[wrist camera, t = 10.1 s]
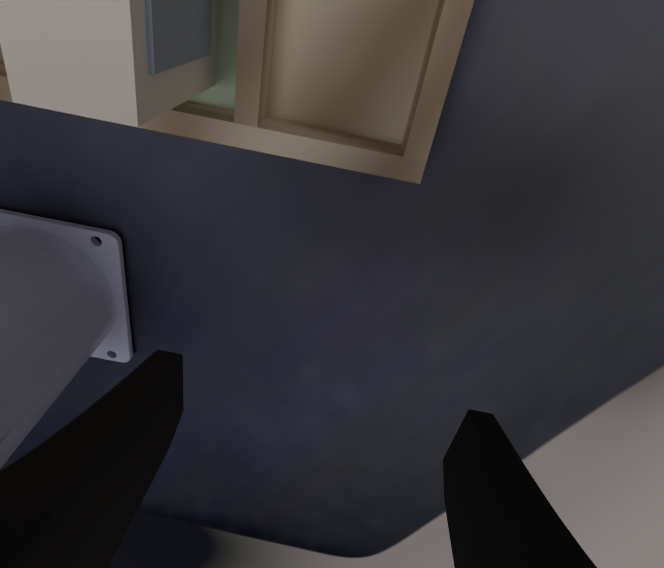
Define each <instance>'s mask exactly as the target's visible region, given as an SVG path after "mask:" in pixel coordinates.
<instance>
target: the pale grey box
mask: <svg viewBox="0 0 664 568" xmlns="http://www.w3.org/2000/svg"><path fill="white" fill-rule="evenodd" d="M217 13H218V0H0V45H1V49H2V54H3V59H4V63H5V68H6V73H7V77H8V82H9V87H10V92H11V96H12V101H13V102H14V103H19V104H24V105H29V106H34V107H39V108H44V109H49V110H54V111H59V112H64V113H69V114H74V115H79V116H84V117H89V118H94V119H99V120H104V121H109V122H114V123H119V124H124V125H129V126H134V127H139V126H141V125H143V124H145V123H147V122H149V121H150V120H152V119H154V118H156V117H158V116H160V115H161V114H163V113H165V112H167V111H169V110H171V109H172V108H174V107H176V106H178V105H180V104H182V103H184V102H185V101H187V100H189V99H191V98H193V97H195V96H196V95H198V94H200V93H202V92H204V91H206V90H207V89H209V88H211V87H213V86H215V85H216V51H217Z"/></svg>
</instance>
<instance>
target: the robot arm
mask: <svg viewBox="0 0 664 568" xmlns="http://www.w3.org/2000/svg"><path fill="white" fill-rule="evenodd" d="M95 236H96V237H99V238H100V239H101V241H102V242H99V241H98V240H97V239H96V238H95ZM112 351H113V352H112ZM114 352H115V353H114ZM90 356H91V357H96V358H102V359H107V360H112V361H117V362H128V361H129V360H130V359H131V358H132V356H133V349H132V339H131V329H130V319H129V309H128V299H127V289H126V279H125V269H124V259H123V250H122V241H121V238H120V237H119V236H118V234H116V233H115V232H113V231H110V230H106V229H100V228H95V227H90V226H85V225H80V224H75V223H70V222H65V221H60V220H55V219H49V218H44V217H39V216H34V215H29V214H24V213H19V212H14V211H9V210H4V209H0V468H1V467H2V466H3V464H4V463H5V462H6V461H7V459H8V458H9V457H10V456H11V454H12V453H13V452H14V451H15V449H16V448H17V447H18V446H19V444H20V443H21V442H22V441H23V439H24V438H25V437H26V436H27V434H28V433H29V432H30V431H31V429H32V428H33V427H34V426H35V424H36V423H37V422H38V421H39V419H40V418H41V417H42V416H43V414H44V413H45V412H46V411H47V410H48V408H49V407H50V406H51V405H52V403H53V402H54V401H55V400H56V398H57V397H58V396H59V395H60V393H61V392H62V391H63V390H64V388H65V387H66V386H67V385H68V383H69V382H70V381H71V380H72V378H73V377H74V376H75V375H76V373H77V372H78V371H79V370H80V368H81V367H82V366H83V365H84V363H85V362H86V361H87V360H88V358H89V357H90ZM182 413H183V359H182V354H177V353H172V352H166V351H161V350H157V351H155V352H154V353H152V354H151V355H150V356H149V357H148V358H147V359H146V360H145V361H143V362H142V363H141V364H140V365H139V366H138V367H137V368H136V369H134V370H133V371H132V372H131V373H130V374H129V375H128V376H126V377H125V378H124V379H123V380H122V381H120V382H119V383H118V384H117V385H116V386H115V387H113V388H112V389H111V390H110V391H109V392H107V393H106V394H105V395H104V396H102V397H101V398H100V399H99V400H97V401H96V402H95V403H94V404H93V405H91V406H90V407H89V408H88V409H86V410H85V411H84V412H83V413H81V414H80V415H79V416H77V417H76V418H75V419H73V420H72V421H71V422H69V423H68V424H67V425H65V426H64V427H63V428H61V429H60V430H59V431H57V432H56V433H55V434H53V435H52V436H50V437H49V438H48V439H46V440H45V441H44V442H42V443H41V444H39V445H38V446H37V447H35V448H34V449H32V450H31V451H29V452H28V453H26V454H25V455H24V456H22V457H21V458H19V459H18V460H16V461H15V462H13V463H11V464H10V465H8V466H7V467H5V468H4V469H2V470H1V471H0V568H109V567H110V564H111V562H112V559H113V557H114V555H115V553H116V551H117V549H118V547H119V545H120V542H121V540H122V538H123V536H124V534H125V532H126V530H127V529H128V527H129V525H130V523H131V521H132V519H133V517H134V515H135V513H136V511H137V509H138V507H139V506H140V504H141V502H142V500H143V498H144V496H145V494H146V492H147V490H148V488H149V486H150V484H151V482H152V481H153V479H154V477H155V475H156V473H157V471H158V469H159V467H160V465H161V463H162V461H163V459H164V457H165V455H166V453H167V451H168V449H169V447H170V444H171V442H172V439H173V437H174V434H175V431H176V429H177V426H178V423H179V421H180V418H181V415H182ZM443 472H444V498H445V507H446V514H447V521H448V527H449V534H450V540H451V547H452V553H453V559H454V566H455V568H597V567H596V566H595V565H594V563H593V562H592V561H591V560H590V558H589V557H588V556H587V554H586V553H585V552H584V550H583V549H582V548H581V546H580V545H579V544H578V542H577V541H576V540H575V538H574V537H573V536H572V534H571V533H570V532H569V530H568V529H567V527H566V526H565V525H564V523H563V522H562V520H561V519H560V518H559V517H558V515H557V513H556V512H555V511H554V509H553V508H552V506H551V505H550V503H549V502H548V500H547V499H546V497H545V496H544V494H543V493H542V491H541V490H540V488H539V487H538V485H537V484H536V482H535V481H534V479H533V477H532V476H531V474H530V473H529V471H528V470H527V468H526V467H525V465H524V463H523V462H522V460H521V459H520V457H519V455H518V454H517V452H516V451H515V449H514V447H513V446H512V444H511V443H510V441H509V439H508V438H507V436H506V434H505V433H504V431H503V430H502V428H501V426H500V425H499V423H498V422H497V420H496V418H495V417H494V415H493V414H490V413H485V412H480V411H475V410H468V412H467V414H466V416H465V417H464V419H463V421H462V423H461V425H460V427H459V429H458V431H457V433H456V435H455V437H454V439H453V441H452V443H451V445H450V447H449V449H448V451H447V453H446V455H445V457H444V459H443Z"/></svg>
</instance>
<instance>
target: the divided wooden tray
mask: <svg viewBox="0 0 664 568" xmlns="http://www.w3.org/2000/svg"><path fill="white" fill-rule="evenodd" d="M473 4H474V0H218V13H217V51H216V85H215V86H213V87H211V88H209V89H207V90H206V91H204V92H202V93H200V94H198V95H196V96H195V97H193V98H191V99H189V100H187V101H185V102H184V103H182V104H180V105H178V106H176V107H174V108H172V109H171V110H169V111H167V112H165V113H163V114H161V115H160V116H158V117H156V118H154V119H152V120H150V121H149V122H147V123H145V124H143V125H141V126H139V127H138V128H143V129H148V130H153V131H158V132H163V133H168V134H173V135H178V136H183V137H188V138H193V139H198V140H203V141H208V142H213V143H218V144H223V145H228V146H233V147H238V148H243V149H248V150H253V151H258V152H263V153H268V154H273V155H278V156H283V157H288V158H293V159H298V160H303V161H308V162H313V163H318V164H323V165H328V166H333V167H338V168H342V169H347V170H352V171H357V172H362V173H367V174H372V175H377V176H382V177H387V178H392V179H397V180H402V181H407V182H412V183H417V184H420V183H421V179H422V176H423V172H424V169H425V166H426V162H427V159H428V156H429V152H430V149H431V145H432V142H433V139H434V135H435V132H436V129H437V125H438V122H439V118H440V115H441V112H442V108H443V105H444V102H445V98H446V95H447V91H448V88H449V85H450V81H451V78H452V75H453V71H454V68H455V64H456V61H457V58H458V54H459V51H460V47H461V44H462V41H463V37H464V34H465V31H466V27H467V24H468V20H469V17H470V14H471V10H472V7H473ZM0 100H4V101H9V102H13V101H12V96H11V92H10V87H9V82H8V77H7V73H6V68H5V63H4V59H3V54H2V49H1V45H0ZM38 108H39V107H38ZM43 109H44V108H43ZM48 110H49V109H48ZM53 111H54V110H53ZM58 112H59V111H58ZM63 113H64V112H63ZM68 114H69V113H68ZM73 115H74V114H73ZM78 116H79V115H78ZM83 117H84V116H83ZM88 118H89V117H88ZM93 119H94V118H93ZM98 120H99V119H98ZM103 121H104V120H103ZM108 122H109V121H108ZM113 123H114V122H113ZM118 124H119V123H118ZM123 125H124V124H123ZM128 126H129V125H128ZM133 127H134V126H133Z"/></svg>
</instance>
